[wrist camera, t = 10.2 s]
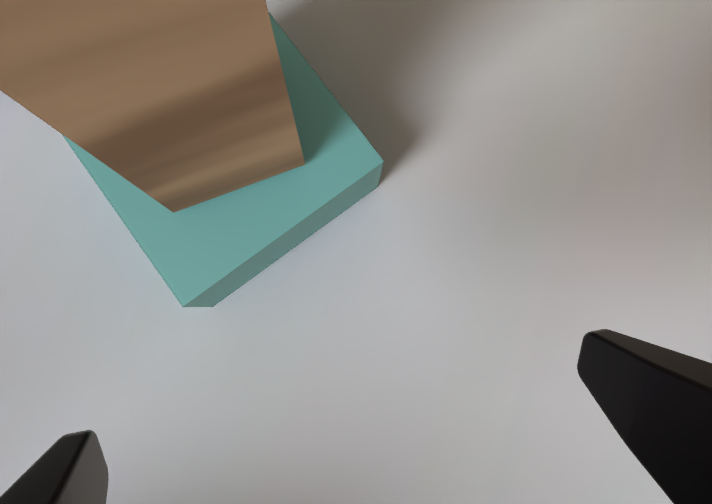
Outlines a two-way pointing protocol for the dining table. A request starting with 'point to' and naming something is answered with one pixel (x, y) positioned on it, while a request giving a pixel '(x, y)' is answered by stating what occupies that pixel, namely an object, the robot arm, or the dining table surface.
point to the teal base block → (252, 198)
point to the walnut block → (156, 89)
